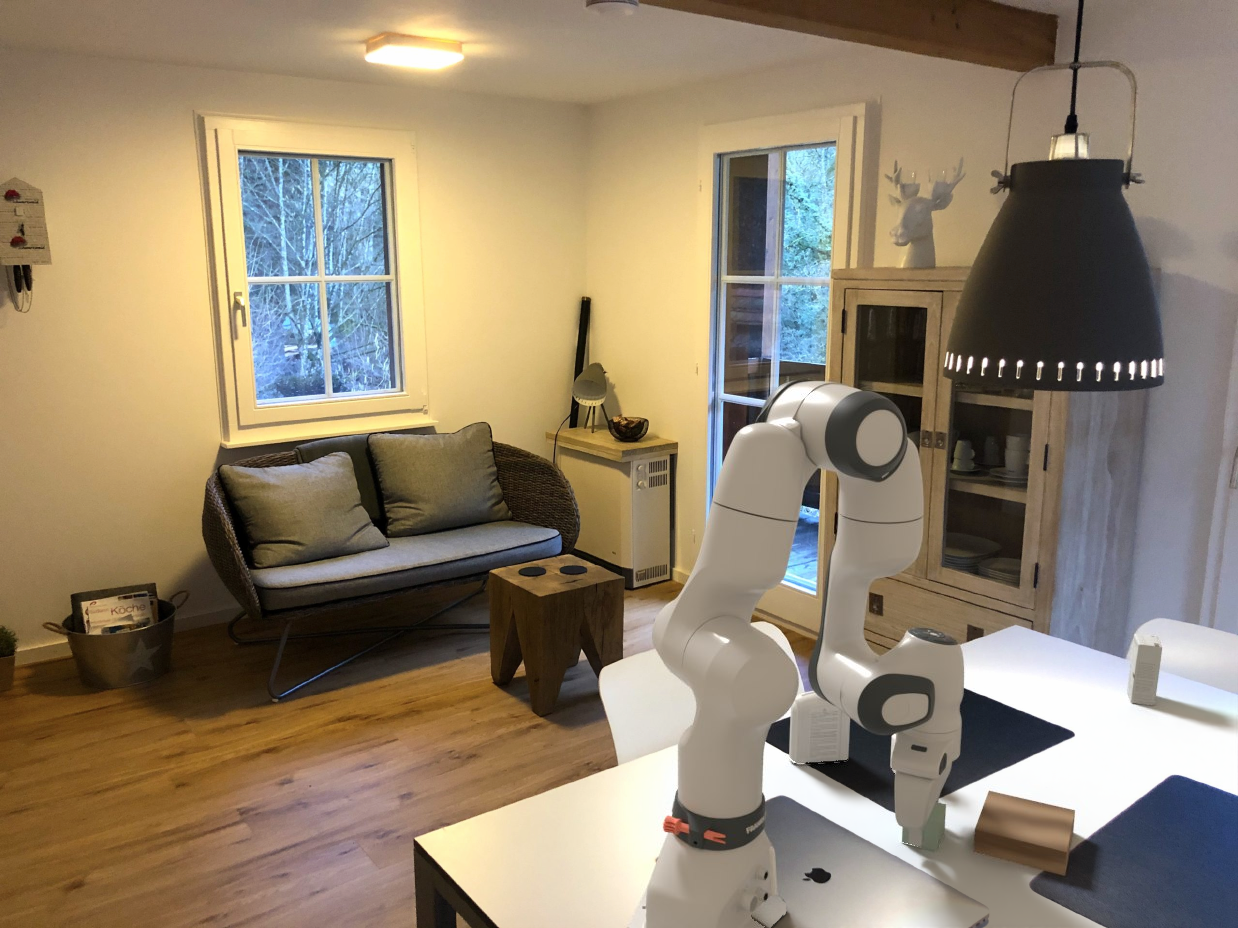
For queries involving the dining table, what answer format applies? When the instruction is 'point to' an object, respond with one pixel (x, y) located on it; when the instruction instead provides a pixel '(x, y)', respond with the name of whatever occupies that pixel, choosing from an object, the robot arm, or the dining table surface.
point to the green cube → (931, 829)
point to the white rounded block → (817, 730)
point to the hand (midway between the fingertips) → (923, 826)
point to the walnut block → (1025, 832)
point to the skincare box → (1144, 669)
